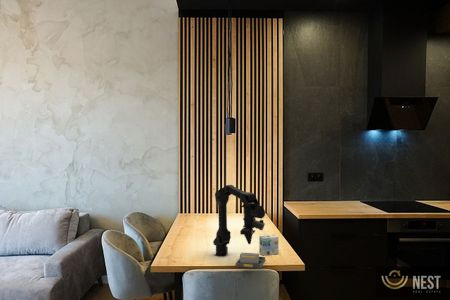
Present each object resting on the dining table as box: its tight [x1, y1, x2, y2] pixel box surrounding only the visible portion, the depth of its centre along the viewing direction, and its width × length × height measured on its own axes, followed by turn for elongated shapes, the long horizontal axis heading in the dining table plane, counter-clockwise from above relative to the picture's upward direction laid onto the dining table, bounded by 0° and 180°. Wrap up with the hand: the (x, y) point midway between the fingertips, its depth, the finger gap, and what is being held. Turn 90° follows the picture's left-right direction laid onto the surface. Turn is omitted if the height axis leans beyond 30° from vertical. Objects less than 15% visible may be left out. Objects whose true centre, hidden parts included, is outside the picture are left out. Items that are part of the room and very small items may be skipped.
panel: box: [239, 252, 260, 264], centre depth 203 cm, size 10×4×6 cm, turn 74°
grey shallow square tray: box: [235, 256, 266, 269], centre depth 206 cm, size 14×15×2 cm
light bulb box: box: [258, 234, 280, 256], centre depth 226 cm, size 11×7×11 cm, turn 103°
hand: (249, 244), depth 203 cm, fingers closed
